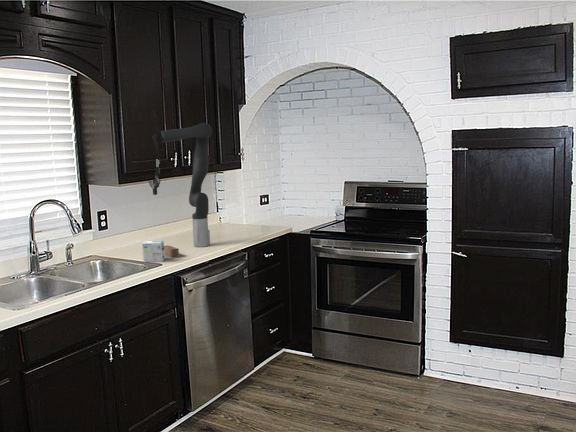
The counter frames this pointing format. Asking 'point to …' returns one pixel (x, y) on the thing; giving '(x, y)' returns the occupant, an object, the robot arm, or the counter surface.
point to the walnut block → (171, 251)
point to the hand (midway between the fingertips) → (155, 194)
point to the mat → (174, 257)
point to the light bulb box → (153, 251)
